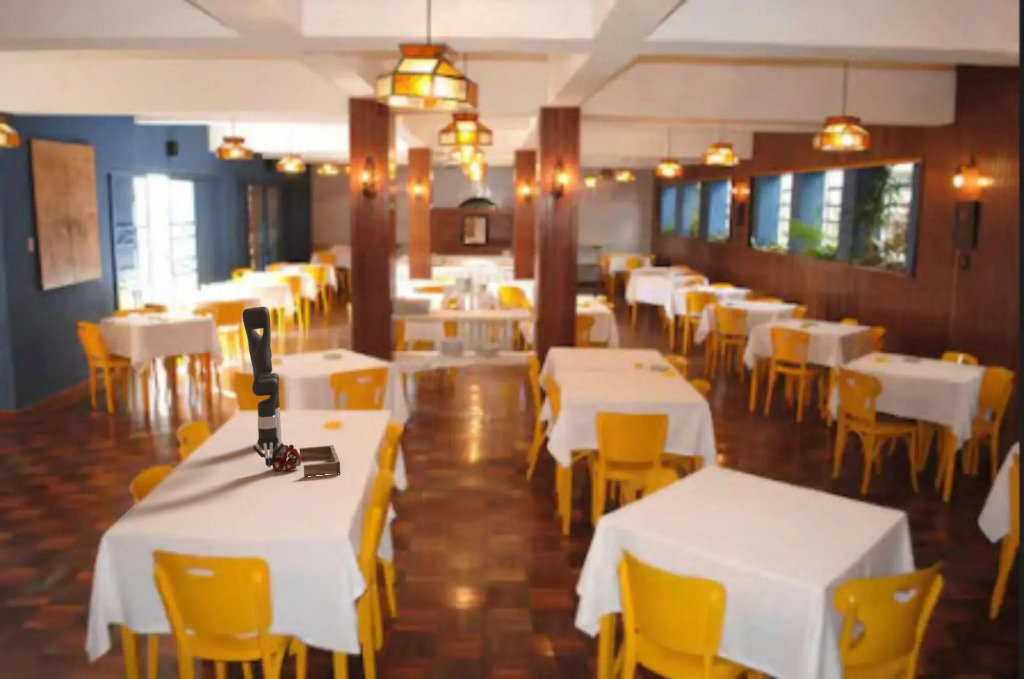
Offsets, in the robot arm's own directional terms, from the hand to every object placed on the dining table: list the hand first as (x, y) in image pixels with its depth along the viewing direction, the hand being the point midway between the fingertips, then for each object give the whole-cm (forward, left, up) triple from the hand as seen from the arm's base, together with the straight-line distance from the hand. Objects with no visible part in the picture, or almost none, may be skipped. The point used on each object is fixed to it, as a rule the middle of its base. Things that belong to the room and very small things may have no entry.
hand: (269, 466), depth 379 cm
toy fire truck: (-1, +7, -2) cm, 7 cm away
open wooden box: (0, +20, -2) cm, 21 cm away
